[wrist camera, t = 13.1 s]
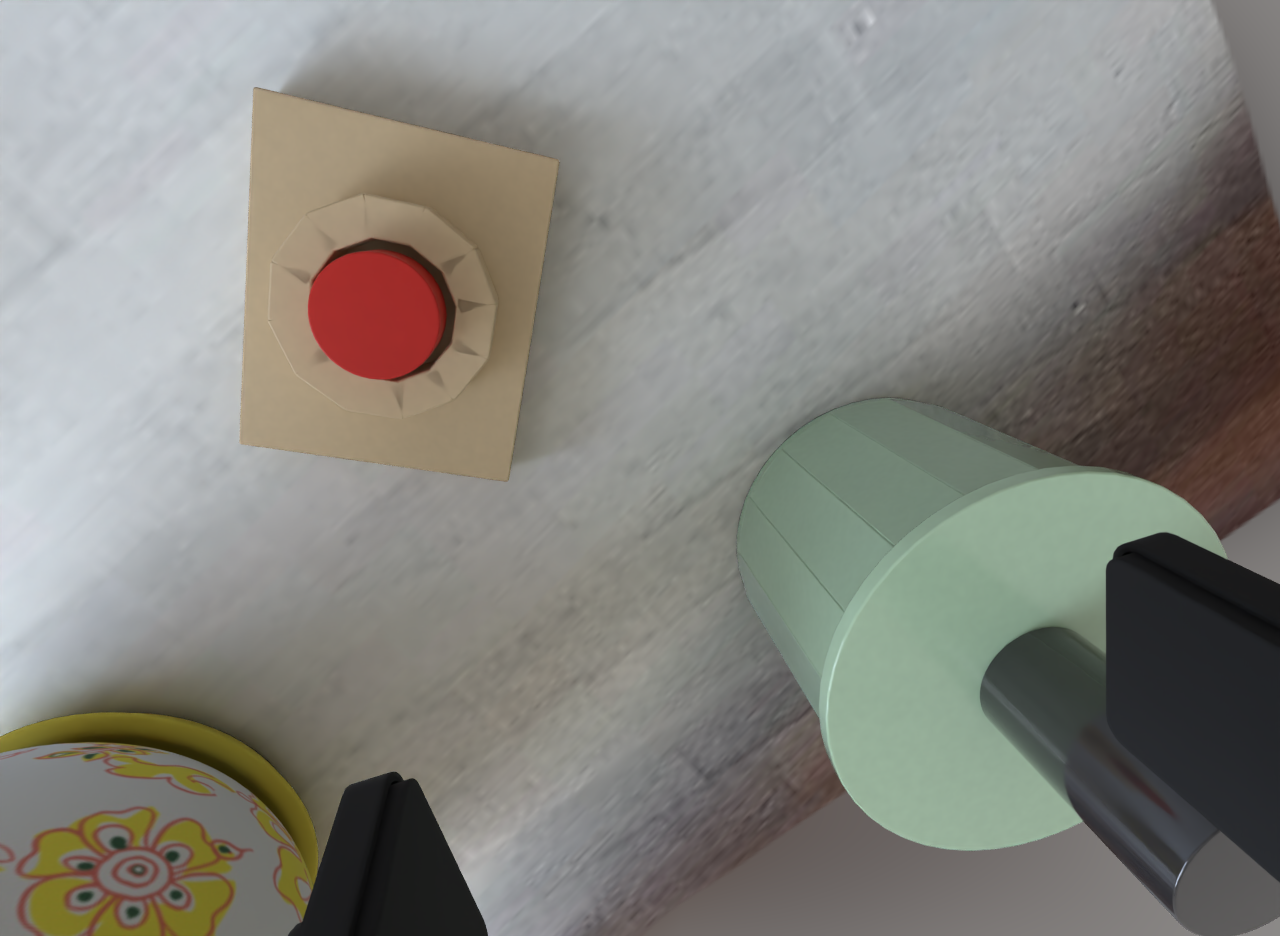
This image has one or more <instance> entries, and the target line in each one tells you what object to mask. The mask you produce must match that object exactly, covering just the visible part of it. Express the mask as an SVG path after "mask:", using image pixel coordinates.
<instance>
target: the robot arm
mask: <svg viewBox="0 0 1280 936" xmlns="http://www.w3.org/2000/svg"><path fill="white" fill-rule="evenodd" d="M1106 717H1107V722H1108V725H1109V728H1110V729H1111V731H1112V733H1113V735H1114V736H1115V738H1116V739H1117V740H1118V741H1119V743H1120V744H1121V745H1122V746H1123V747H1125V748H1126V749H1127V750H1128V751H1129V752H1130V753H1131V754H1133V755H1134V756H1135V757H1136V758H1137V759H1138V760H1139V761H1141V762H1142V763H1143V764H1144V765H1145V766H1146V767H1147V768H1149V769H1150V770H1151V771H1152V772H1153V773H1154V774H1156V775H1157V776H1158V777H1159V778H1160V779H1161V780H1162V781H1164V782H1165V783H1166V784H1167V785H1168V786H1169V787H1170V788H1172V789H1173V790H1174V791H1175V792H1176V793H1177V794H1178V795H1180V796H1181V797H1182V798H1183V799H1184V800H1185V801H1186V802H1188V803H1189V804H1190V805H1191V806H1192V807H1193V808H1195V809H1196V810H1197V811H1198V812H1199V813H1200V814H1201V815H1203V816H1204V817H1205V818H1206V819H1207V820H1208V821H1209V822H1211V823H1212V824H1213V825H1214V826H1215V827H1216V828H1217V829H1219V830H1220V831H1221V832H1222V833H1223V834H1224V835H1225V836H1227V837H1228V838H1229V839H1230V840H1231V841H1232V842H1234V843H1235V844H1236V845H1237V846H1238V847H1239V848H1240V849H1242V850H1243V851H1244V852H1245V853H1246V854H1247V855H1248V856H1250V857H1251V858H1252V859H1253V860H1254V861H1255V862H1256V863H1258V864H1259V865H1260V866H1261V867H1262V868H1263V869H1265V870H1266V871H1267V872H1268V873H1269V874H1270V875H1271V876H1273V877H1274V878H1275V879H1276V880H1277V881H1278V882H1279V883H1280V584H1278V583H1276V582H1274V581H1272V580H1269V579H1267V578H1265V577H1263V576H1261V575H1259V574H1257V573H1254V572H1253V571H1251V570H1249V569H1246V568H1244V567H1242V566H1240V565H1238V564H1236V563H1233V562H1232V561H1229V560H1228V559H1225V558H1223V557H1221V556H1219V555H1217V554H1215V553H1213V552H1211V551H1209V550H1207V549H1204V548H1202V547H1200V546H1198V545H1196V544H1194V543H1192V542H1190V541H1188V540H1186V539H1183V538H1181V537H1179V536H1177V535H1175V534H1171V533H1168V532H1159V533H1156V534H1153V535H1150V536H1147V537H1143V538H1140V539H1137V540H1134V541H1131V542H1127V543H1124V544H1122V545H1120V546H1118V547H1117V548H1116V550H1115V551H1114V554H1113V559H1112V560H1110V561H1109V562H1108V564H1107V566H1106ZM288 936H488V933H487V929H486V925H485V922H484V920H483V917H482V915H481V913H480V911H479V909H478V907H477V905H476V903H475V901H474V898H473V896H472V894H471V892H470V890H469V888H468V886H467V884H466V882H465V880H464V877H463V875H462V873H461V871H460V869H459V867H458V865H457V863H456V861H455V859H454V856H453V854H452V852H451V850H450V848H449V846H448V844H447V842H446V840H445V838H444V835H443V833H442V831H441V829H440V827H439V825H438V823H437V821H436V819H435V816H434V814H433V812H432V810H431V808H430V806H429V804H428V802H427V800H426V798H425V795H424V793H423V791H422V789H421V787H420V785H419V784H418V782H417V781H416V780H415V779H408V780H405V781H404V780H403V779H402V777H401V775H399V774H398V773H397V772H390V773H387V774H383V775H380V776H377V777H374V778H370V779H367V780H364V781H361V782H358V783H354V784H351V785H349V786H348V787H347V788H346V789H345V791H344V793H343V795H342V799H341V802H340V805H339V808H338V811H337V814H336V817H335V820H334V824H333V827H332V830H331V833H330V836H329V839H328V842H327V846H326V849H325V852H324V855H323V858H322V861H321V864H320V867H319V871H318V874H317V877H316V880H315V883H314V886H313V889H312V893H311V896H310V899H309V902H308V905H307V908H306V911H305V914H304V918H303V921H302V922H301V923H298V924H297V925H296V926H295V927H294V928H293V929H292V930H291V931H290V933H289V934H288Z"/></svg>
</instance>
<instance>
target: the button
mask: <svg viewBox="0 0 1280 936" xmlns="http://www.w3.org/2000/svg"><path fill="white" fill-rule="evenodd" d="M446 317H447V313H446V304H445V300H444V297H443V294H442V291H441V289H440V287H439V285H438V283H437V282H436V280H435V279H434V277H433V276H432V275H431V274H430V272H429V271H428V270H427V269H426V268H425V267H423V266H422V265H421V264H420V263H418V262H417V261H416V260H414V259H412V258H410V257H408V256H406V255H404V254H401V253H398V252H395V251H390V250H368V251H360V252H354V253H350V254H346V255H344V256H342V257H339V258H337V259H336V260H334V261H332V262H331V263H330V264H328V265H327V266H326V267H325V268H324V269H323V270H322V271H321V272H320V274H319V275H318V276H317V278H316V280H315V281H314V283H313V286H312V288H311V291H310V294H309V299H308V319H309V324H310V328H311V331H312V333H313V336H314V338H315V340H316V342H317V343H318V345H319V347H320V348H321V349H322V351H323V352H324V353H325V354H326V355H327V356H328V357H329V358H330V360H332V361H333V362H334V363H335V364H337V365H338V366H339V367H341V368H342V369H344V370H346V371H348V372H350V373H352V374H354V375H357V376H360V377H364V378H368V379H376V380H385V379H393V378H397V377H401V376H404V375H406V374H408V373H410V372H412V371H414V370H415V369H417V368H418V367H419V366H420V365H422V364H423V363H424V362H425V361H426V360H427V359H428V357H429V356H430V355H431V353H432V352H433V351H434V350H435V348H436V347H437V345H438V344H439V342H440V340H441V338H442V336H443V333H444V330H445V326H446Z"/></svg>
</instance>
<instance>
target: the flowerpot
mask: <svg viewBox="0 0 1280 936" xmlns="http://www.w3.org/2000/svg"><path fill="white" fill-rule="evenodd" d="M317 870H318V845H317V838H316V834H315V830H314V827H313V824H312V821H311V818H310V816H309V814H308V812H307V810H306V808H305V806H304V804H303V803H302V801H301V799H300V798H299V796H298V795H297V793H296V792H295V791H294V789H293V788H292V787H291V786H290V784H289V783H288V782H287V781H286V780H285V779H284V778H283V777H282V776H281V775H280V774H279V773H278V772H277V770H276V769H275V768H274V767H273V766H272V765H271V764H270V763H269V762H268V761H267V760H265V759H264V758H263V757H262V756H261V755H260V754H258V753H257V752H256V751H254V750H253V749H251V748H250V747H249V746H247V745H245V744H244V743H242V742H241V741H239V740H237V739H235V738H233V737H232V736H230V735H228V734H225V733H223V732H221V731H219V730H217V729H214V728H211V727H209V726H206V725H203V724H200V723H197V722H194V721H190V720H186V719H182V718H177V717H172V716H166V715H159V714H149V713H122V712H102V713H86V714H76V715H69V716H63V717H57V718H53V719H49V720H45V721H41V722H37V723H34V724H31V725H27V726H25V727H22V728H19V729H17V730H14V731H12V732H9V733H7V734H5V735H3V736H1V737H0V936H288V934H289V933H290V931H291V930H292V929H293V928H294V927H295V926H296V925H297V924H298V923H301V922H302V921H303V918H304V914H305V911H306V908H307V905H308V902H309V899H310V896H311V893H312V889H313V886H314V883H315V880H316V876H317Z"/></svg>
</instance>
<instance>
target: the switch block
mask: <svg viewBox="0 0 1280 936" xmlns="http://www.w3.org/2000/svg"><path fill="white" fill-rule="evenodd" d="M559 163H560V162H559V160H558V159H554V158H550V157H546V156H542V155H538V154H534V153H529V152H525V151H521V150H517V149H513V148H509V147H504V146H500V145H496V144H492V143H488V142H484V141H479V140H475V139H471V138H467V137H463V136H458V135H454V134H450V133H446V132H442V131H438V130H433V129H429V128H425V127H421V126H417V125H413V124H408V123H404V122H400V121H396V120H392V119H387V118H383V117H379V116H375V115H371V114H367V113H362V112H358V111H354V110H350V109H346V108H342V107H337V106H333V105H329V104H325V103H321V102H316V101H312V100H308V99H304V98H300V97H296V96H291V95H287V94H283V93H279V92H275V91H271V90H266V89H262V88H258V87H254V89H253V113H252V138H251V163H250V189H249V214H248V239H247V264H246V289H245V314H244V339H243V364H242V390H241V415H240V440H239V442H240V444H244V445H251V446H258V447H265V448H272V449H279V450H286V451H293V452H300V453H307V454H314V455H321V456H328V457H335V458H343V459H350V460H357V461H364V462H371V463H378V464H385V465H392V466H399V467H406V468H413V469H420V470H427V471H434V472H441V473H449V474H456V475H463V476H470V477H477V478H484V479H491V480H498V481H505V482H507V481H509V476H510V470H511V463H512V457H513V451H514V445H515V438H516V432H517V426H518V420H519V413H520V407H521V401H522V394H523V388H524V382H525V376H526V369H527V363H528V357H529V351H530V344H531V338H532V332H533V326H534V319H535V313H536V307H537V300H538V294H539V288H540V282H541V275H542V269H543V263H544V257H545V250H546V244H547V238H548V232H549V225H550V219H551V213H552V206H553V200H554V194H555V188H556V181H557V175H558V169H559ZM368 250H390V251H395V252H398V253H401V254H404V255H406V256H408V257H410V258H412V259H414V260H416V261H417V262H418V263H420V264H421V265H422V266H423V267H425V268H426V269H427V270H428V271H429V272H430V274H431V275H432V276H433V277H434V279H435V280H436V282H437V283H438V285H439V287H440V289H441V291H442V294H443V297H444V300H445V304H446V313H447V317H446V326H445V330H444V333H443V336H442V338H441V340H440V342H439V344H438V345H437V347H436V348H435V350H434V351H433V352H432V353H431V355H430V356H429V357H428V359H427V360H426V361H425V362H424V363H423V364H422V365H420V366H419V367H418V368H417V369H415V370H414V371H412V372H410V373H408V374H406V375H404V376H401V377H397V378H393V379H385V380H376V379H368V378H364V377H360V376H357V375H354V374H352V373H350V372H348V371H346V370H344V369H342V368H341V367H339V366H338V365H337V364H335V363H334V362H333V361H332V360H330V358H329V357H328V356H327V355H326V354H325V353H324V352H323V351H322V349H321V348H320V347H319V345H318V343H317V342H316V340H315V338H314V336H313V333H312V331H311V328H310V324H309V319H308V299H309V294H310V291H311V288H312V286H313V283H314V281H315V280H316V278H317V276H318V275H319V274H320V272H321V271H322V270H323V269H324V268H325V267H326V266H327V265H328V264H330V263H331V262H332V261H334V260H336V259H337V258H339V257H342V256H344V255H346V254H350V253H354V252H360V251H368Z"/></svg>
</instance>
